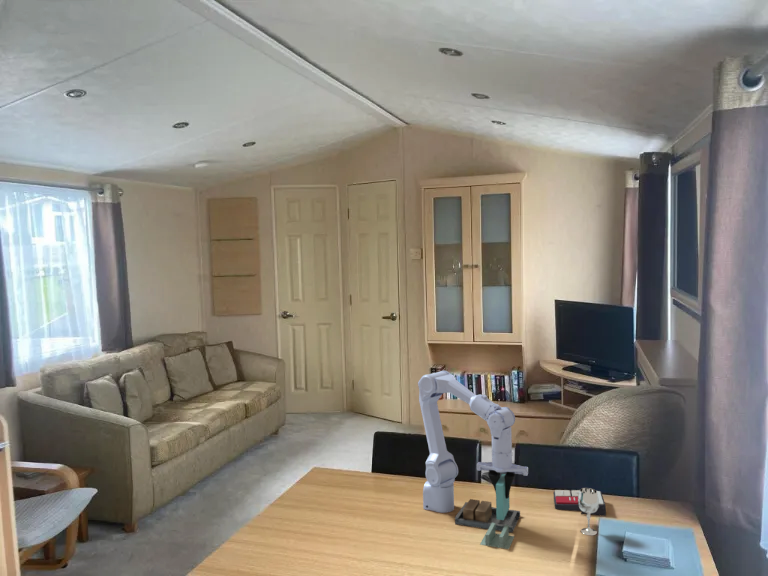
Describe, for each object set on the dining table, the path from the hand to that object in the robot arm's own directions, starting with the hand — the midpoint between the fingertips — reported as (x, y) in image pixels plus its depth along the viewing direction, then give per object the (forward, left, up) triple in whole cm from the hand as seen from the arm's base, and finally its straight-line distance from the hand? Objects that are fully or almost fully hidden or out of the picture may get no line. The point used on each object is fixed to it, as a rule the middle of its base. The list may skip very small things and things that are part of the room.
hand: (502, 496), depth 174 cm
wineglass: (+23, +8, -11) cm, 27 cm away
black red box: (+19, +25, -11) cm, 33 cm away
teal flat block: (0, 0, -5) cm, 5 cm away
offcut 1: (-11, +4, -9) cm, 15 cm away
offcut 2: (-7, +4, -9) cm, 12 cm away
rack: (-5, +4, -10) cm, 12 cm away
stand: (0, -8, -10) cm, 13 cm away
